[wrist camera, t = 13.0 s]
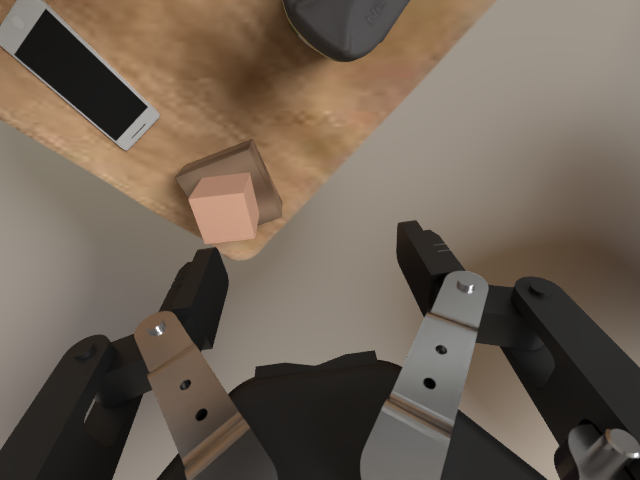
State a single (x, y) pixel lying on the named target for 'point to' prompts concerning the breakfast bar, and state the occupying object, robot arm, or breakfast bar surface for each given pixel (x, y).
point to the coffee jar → (343, 25)
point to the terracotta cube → (225, 208)
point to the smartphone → (75, 71)
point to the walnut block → (236, 162)
